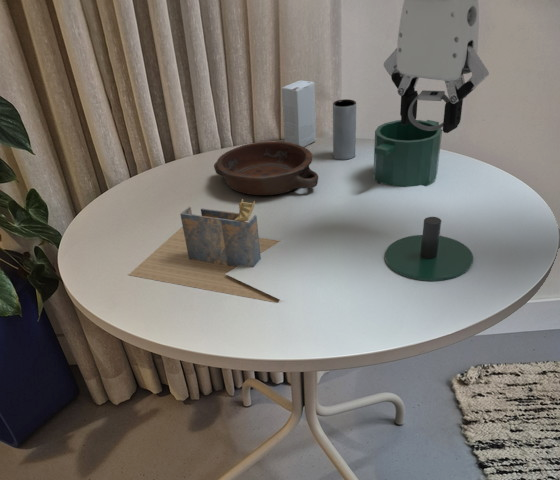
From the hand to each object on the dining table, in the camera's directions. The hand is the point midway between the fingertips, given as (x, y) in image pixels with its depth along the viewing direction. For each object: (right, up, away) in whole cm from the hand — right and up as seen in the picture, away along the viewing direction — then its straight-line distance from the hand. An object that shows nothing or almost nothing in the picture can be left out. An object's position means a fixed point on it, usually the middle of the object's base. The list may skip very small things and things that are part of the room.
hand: (428, 124), depth 84 cm
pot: (+2, +1, +25) cm, 25 cm away
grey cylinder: (-8, +8, +35) cm, 37 cm away
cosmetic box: (-17, +13, +41) cm, 47 cm away
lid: (0, -19, +1) cm, 19 cm away
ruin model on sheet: (-30, -19, +6) cm, 36 cm away
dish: (-24, 0, +27) cm, 36 cm away
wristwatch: (0, -1, +1) cm, 1 cm away
